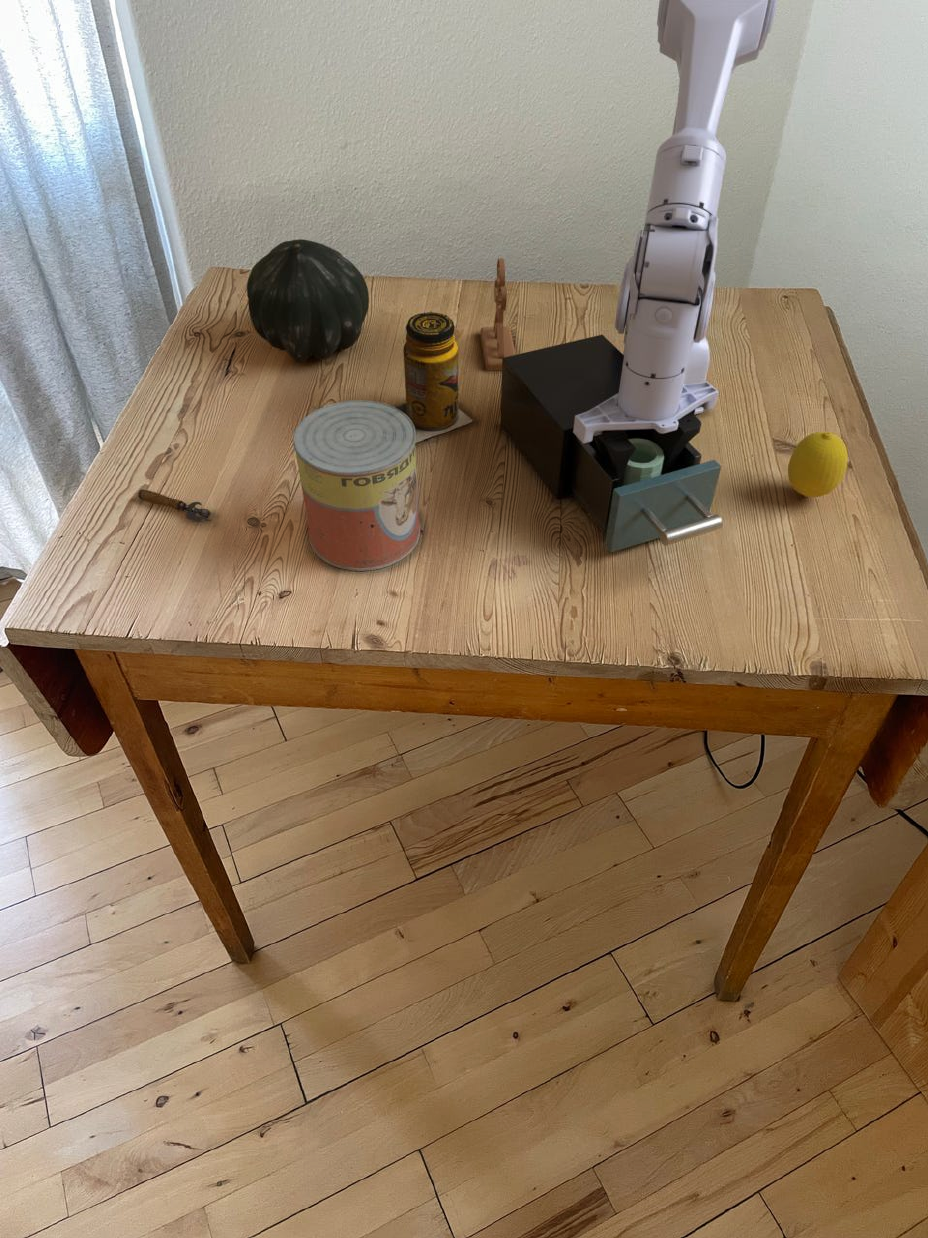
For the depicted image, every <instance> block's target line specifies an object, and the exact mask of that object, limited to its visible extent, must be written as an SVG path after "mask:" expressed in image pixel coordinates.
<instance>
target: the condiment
mask: <svg viewBox="0 0 928 1238" xmlns="http://www.w3.org/2000/svg"><path fill="white" fill-rule="evenodd" d="M455 329H456V326H455V323H454V321H453V319H451V317H450V316H448V315H447V314H443V313H440V312H432V311H429V312H427V311H426V312H421V313H417V314H414V315H412V316H411V317H410V318H409V319H408V321H407V323H406V325H405V331H406V334H405V343H404V346H403V351H402V352H403V364H404V365H403V368H404V370H403V371H404V388H405V391H404V392H405V402H403V403H401V404H400V405H396V406H394V407H395V408H397V409H399V410H400V411H402V412H403V413H405V414H406V415H407V416H408V417H409V418H410V419H411V421H412V422H413V424H414V427H415V430H416V440H415V444H417V443H420V442H423V441H424V440H427V439H430V438H433V437H435V436H439V435H442V434H445V433H447V432H450V431H452V430H455V429H457V428H460V427H463V426H465V425H468V424H470V423H472V422H473V419H471V417H470V416H469V415H467V414H466V413H464V412H463V411H462V410H461V409H460V408H459V346H458V343H457V341H456V336H455Z"/></svg>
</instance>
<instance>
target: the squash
mask: <svg viewBox="0 0 928 1238" xmlns="http://www.w3.org/2000/svg"><path fill="white" fill-rule="evenodd" d="M249 273H250V274H249V276H248V279H247V282H246V283H247V284H246V295H247V299H248V303H247V304H248V305H247V306H248V313H249V316H250V321H251V324H252V327H253V328H254V330H255V332H256V333H257V334H258V335H259V336H260V337H261V338H262V339H264V340H265V341H266V342H267V343H268V344H269V345H270V346H271V347H273V348H275V349H277V350H281V351H285V352H287V353H288V355H289V356H290V357H291V358H292V359H294V360H296V361H297V362H304V361H307V360H308V359H309V358H310V357H311V356H312V355H313V356H314V357H315V358H316V359H319V360H323V361H324V360H327V359H329V358H330V357H331V356H332V355H334V353H335V352H336V350H338V351H344V350H347V349H349V348H351V347H352V346H354V345H355V344H356V342H357V341H358V340H359V337H360V335H361V334H362V329H363V324H364V322H365V320H366V317H367V314H368V311H369V305H370V295H369V287H368V285H367V283H366V280H365V278H364V276H363V274H362V273H361V272H360V271H359V269H358V268H357V267H356V265H354V264H353V263H352V262H351V261H350V260H349V259H348V258H346V257H345V256H344V255H343V254H342V253H340V252H339V251H338V250H336V249H335V248H332V247H329V245H325V244H323V243H320V242H316V241H312V240H309V239H301V238H300V239H291V240H286V241H283V242H280V243H279V244H277V245H276V246H274V247H273V248H272V249H270V251H269V252H268V253H267V254H266V255H264V256H263V257H262V258H261V259H259V260H258V261H257V262H256V263H255V264H254V266H253V267H252V268H251V271H250V272H249Z"/></svg>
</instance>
